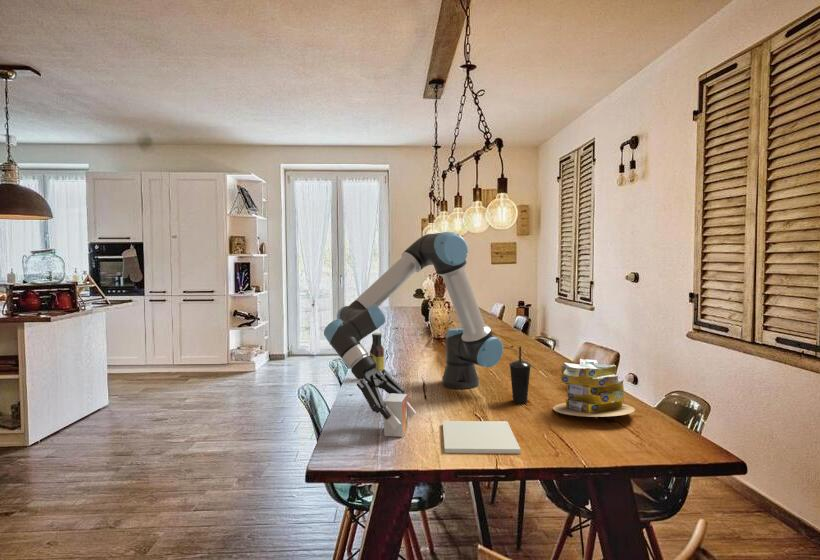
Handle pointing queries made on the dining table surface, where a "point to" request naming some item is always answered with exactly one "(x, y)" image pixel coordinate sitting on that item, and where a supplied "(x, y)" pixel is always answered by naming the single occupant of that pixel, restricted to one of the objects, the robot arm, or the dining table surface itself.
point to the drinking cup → (520, 379)
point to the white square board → (479, 437)
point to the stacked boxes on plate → (592, 391)
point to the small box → (396, 414)
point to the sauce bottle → (377, 351)
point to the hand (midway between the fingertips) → (405, 420)
